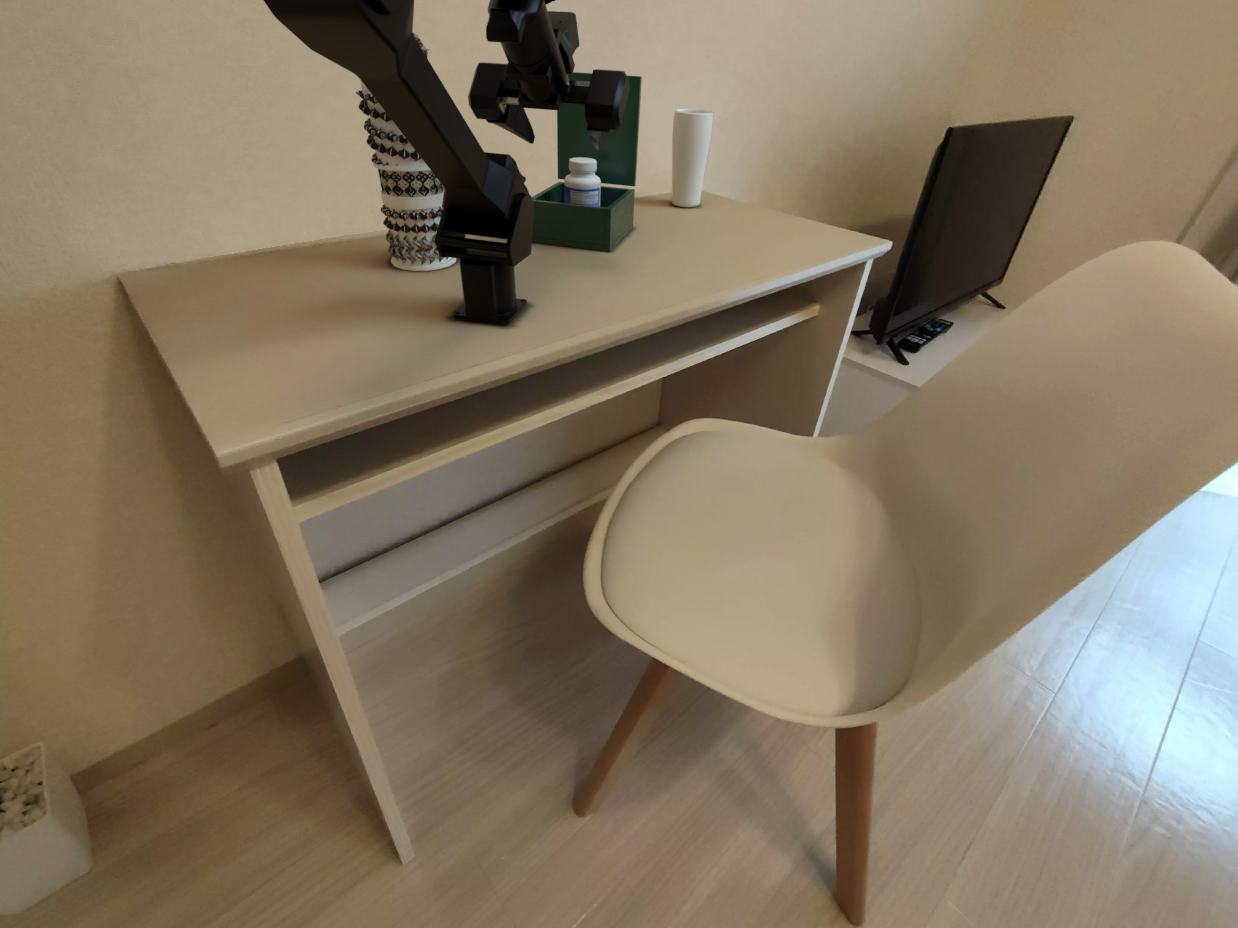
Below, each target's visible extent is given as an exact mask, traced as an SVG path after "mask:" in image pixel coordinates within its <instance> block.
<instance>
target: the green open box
mask: <svg viewBox="0 0 1238 928" xmlns="http://www.w3.org/2000/svg"><path fill="white" fill-rule="evenodd" d="M635 193H636V189H635V188H627V187H615V186H605V185H601V193H600V207H598V206H588V205H579V204H569V203H565V200H564V181H558V182H556V183H554V184H552V185H551V186H549V187H546V188H545V189H544V190H541V191H540V192H538V193H537V194H535V195H533V196H531V197H532V199H533V203H534V221H533V233H532V243H535V244H543V245H550V246H551V245H553V246H561V247H568V248H569V247H570V248H578V249H585V250H594V251H602V252H611V251H612V250H613V249H614V248H615V247H616V246H617V245H618V244H619V243H620V242H621V241H622V240H623V239H624V238H625V237H626V236H627V234H628V233H630V231H632V230H633V228H634V216H635V215H634V213H635V197H636V196H635V195H636V194H635Z"/></svg>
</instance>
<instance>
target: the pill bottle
mask: <svg viewBox="0 0 1238 928" xmlns="http://www.w3.org/2000/svg"><path fill="white" fill-rule="evenodd" d="M596 169H597V161H596V160H595V159H592V158H582V157H578V158H571V159H570V160H569V170H570V171H571V173H570V174H569V175H567V176H566V177H565V180H564V179H563V182H564V200H565V203H569V204H579V205H588V206H598V207H600V193H601V186H602V183H601V180H600V178H599V177H598V176H596V175H595V172H596Z"/></svg>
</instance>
